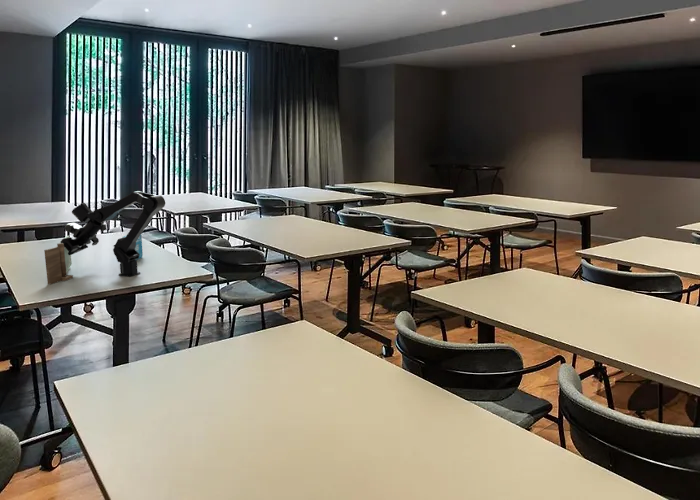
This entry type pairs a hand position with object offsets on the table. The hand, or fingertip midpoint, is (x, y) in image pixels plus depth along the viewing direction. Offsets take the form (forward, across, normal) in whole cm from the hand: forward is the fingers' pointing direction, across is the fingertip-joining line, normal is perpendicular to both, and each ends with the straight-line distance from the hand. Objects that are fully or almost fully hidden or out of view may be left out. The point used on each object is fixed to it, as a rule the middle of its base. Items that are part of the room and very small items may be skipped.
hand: (69, 254), depth 249 cm
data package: (-4, -28, +15) cm, 32 cm away
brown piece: (+1, +16, +10) cm, 19 cm away
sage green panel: (+5, +3, +4) cm, 7 cm away
